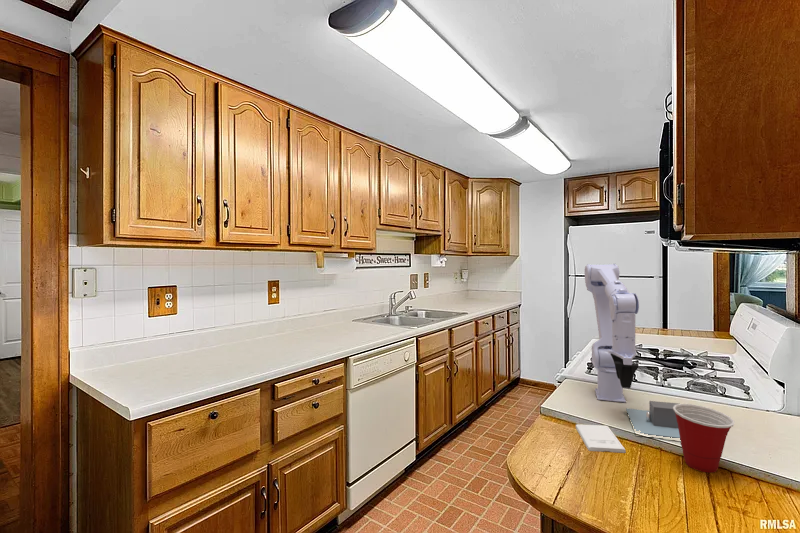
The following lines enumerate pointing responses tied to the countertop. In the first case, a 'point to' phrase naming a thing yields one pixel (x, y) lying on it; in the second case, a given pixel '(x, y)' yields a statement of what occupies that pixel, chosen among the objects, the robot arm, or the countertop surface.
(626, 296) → the robot arm
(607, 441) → the external hard drive
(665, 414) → the gray rectangular block
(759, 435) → the countertop surface
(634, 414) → the tray
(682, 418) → the plastic cup
